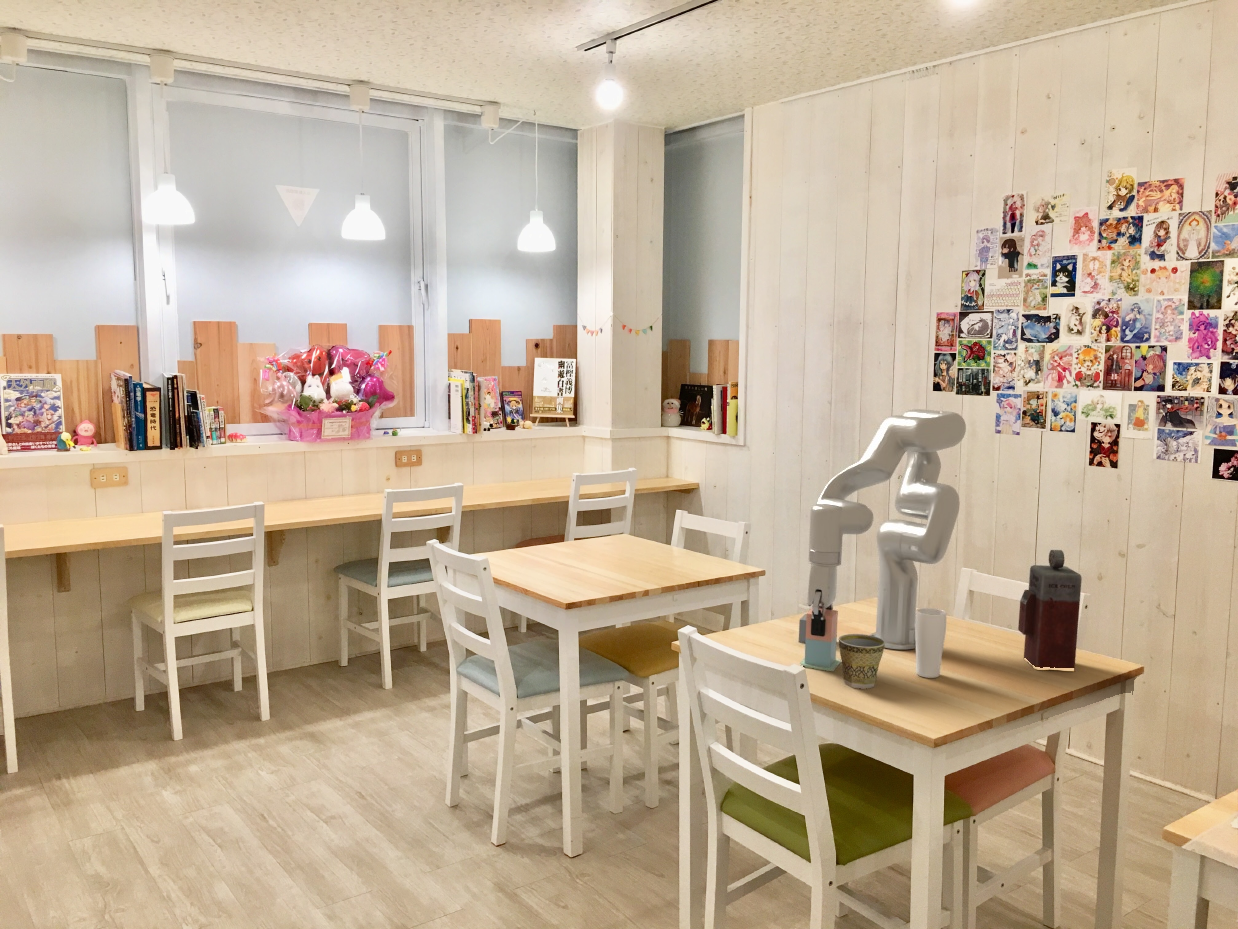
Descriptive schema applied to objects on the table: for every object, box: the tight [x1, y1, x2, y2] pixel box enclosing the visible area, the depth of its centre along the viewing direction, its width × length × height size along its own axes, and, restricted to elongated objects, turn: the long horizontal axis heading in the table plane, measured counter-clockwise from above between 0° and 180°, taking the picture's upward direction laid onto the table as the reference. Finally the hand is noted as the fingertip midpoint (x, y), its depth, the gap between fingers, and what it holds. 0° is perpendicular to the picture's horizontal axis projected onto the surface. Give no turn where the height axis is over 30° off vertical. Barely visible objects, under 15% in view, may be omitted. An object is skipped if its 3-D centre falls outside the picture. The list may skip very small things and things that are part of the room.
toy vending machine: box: [1017, 549, 1083, 669], centre depth 236 cm, size 9×11×28 cm
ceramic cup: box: [838, 633, 885, 690], centre depth 222 cm, size 13×10×10 cm
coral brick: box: [806, 608, 839, 642], centre depth 233 cm, size 6×6×6 cm
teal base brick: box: [804, 635, 838, 667], centre depth 234 cm, size 6×6×6 cm
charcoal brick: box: [798, 613, 807, 644], centre depth 253 cm, size 6×6×6 cm
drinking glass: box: [915, 607, 948, 679], centre depth 227 cm, size 7×7×15 cm
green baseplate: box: [799, 657, 842, 672], centre depth 234 cm, size 8×8×1 cm
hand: (821, 630), depth 234 cm, fingers open, 7 cm apart
